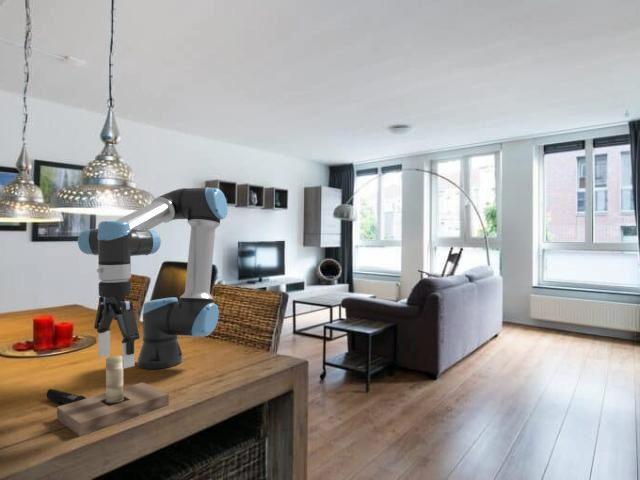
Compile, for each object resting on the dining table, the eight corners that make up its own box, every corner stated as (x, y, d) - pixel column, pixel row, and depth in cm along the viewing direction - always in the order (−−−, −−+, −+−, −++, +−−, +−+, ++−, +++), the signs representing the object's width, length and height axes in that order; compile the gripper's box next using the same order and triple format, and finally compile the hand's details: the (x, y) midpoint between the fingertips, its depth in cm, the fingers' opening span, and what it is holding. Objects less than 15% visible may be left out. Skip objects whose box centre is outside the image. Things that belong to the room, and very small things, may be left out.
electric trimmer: (56, 397, 114) (56, 386, 114) (91, 406, 108) (91, 394, 108) (42, 402, 111) (42, 390, 111) (77, 411, 104) (77, 399, 104)
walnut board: (142, 392, 117) (142, 382, 117) (168, 405, 108) (168, 394, 108) (57, 418, 100) (57, 406, 99) (79, 436, 91) (79, 423, 91)
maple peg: (119, 407, 107) (119, 354, 107) (126, 411, 104) (126, 357, 104) (102, 412, 103) (102, 358, 103) (109, 416, 101) (110, 361, 101)
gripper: (79, 278, 108) (81, 355, 109) (122, 286, 93) (124, 376, 93) (108, 275, 114) (109, 349, 115) (153, 282, 99) (154, 367, 99)
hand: (116, 361), depth 104 cm, fingers open, 13 cm apart
